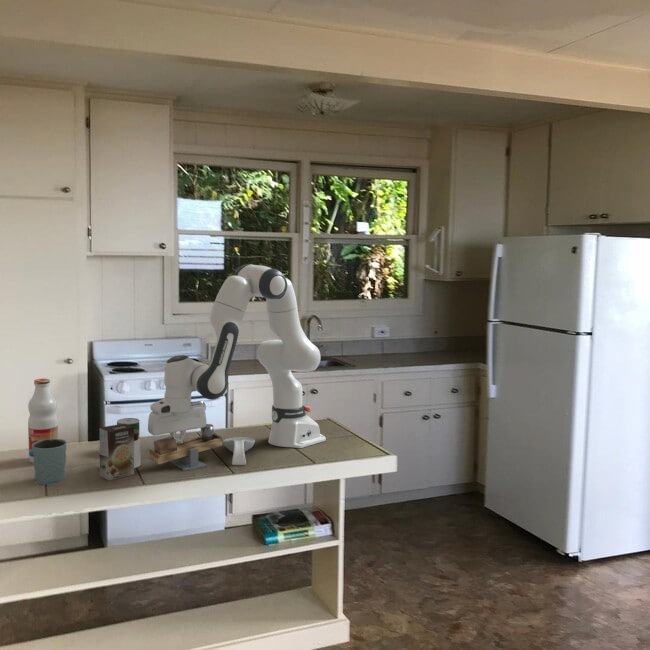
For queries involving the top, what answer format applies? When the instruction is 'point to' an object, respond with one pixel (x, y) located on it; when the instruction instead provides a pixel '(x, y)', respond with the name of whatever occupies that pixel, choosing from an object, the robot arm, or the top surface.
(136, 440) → the jar
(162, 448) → the block
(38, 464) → the teal cup
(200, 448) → the beam
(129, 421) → the canned tomato
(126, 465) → the coffee box
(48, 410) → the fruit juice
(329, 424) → the top surface
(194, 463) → the stand
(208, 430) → the cylinder
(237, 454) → the spoon rest
